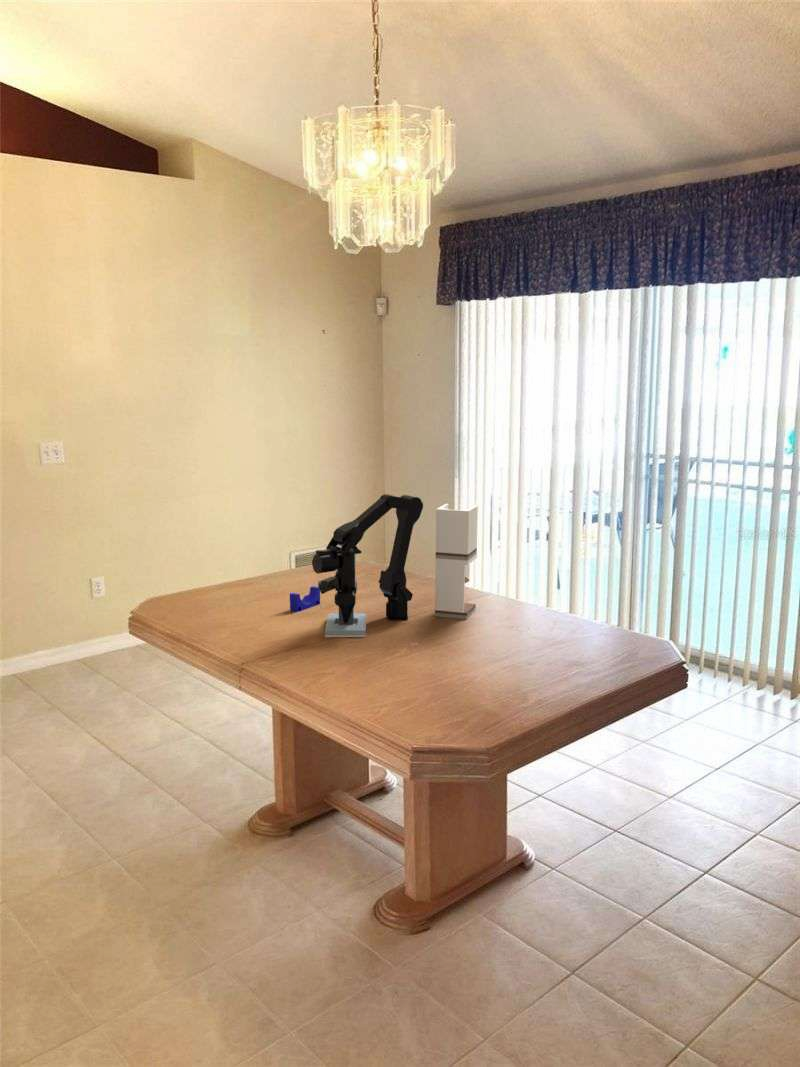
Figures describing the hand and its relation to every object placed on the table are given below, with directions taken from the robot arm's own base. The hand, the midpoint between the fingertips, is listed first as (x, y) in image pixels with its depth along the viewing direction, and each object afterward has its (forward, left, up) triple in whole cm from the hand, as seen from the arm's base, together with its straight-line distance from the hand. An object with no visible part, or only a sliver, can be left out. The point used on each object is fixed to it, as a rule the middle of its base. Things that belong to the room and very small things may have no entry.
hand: (346, 618), depth 267 cm
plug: (0, 0, -3) cm, 3 cm away
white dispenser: (-35, -16, -3) cm, 39 cm away
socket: (0, 0, -3) cm, 3 cm away
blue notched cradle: (+15, -24, -4) cm, 28 cm away
